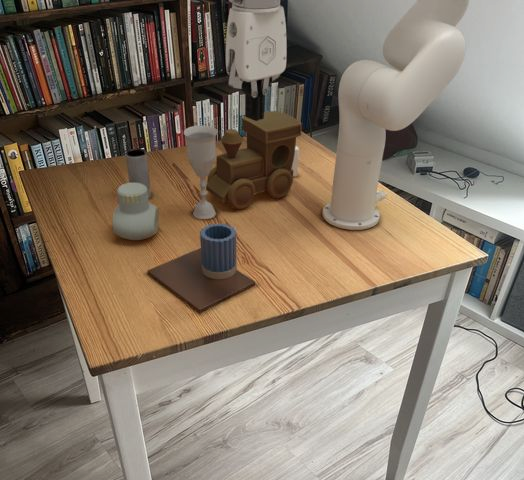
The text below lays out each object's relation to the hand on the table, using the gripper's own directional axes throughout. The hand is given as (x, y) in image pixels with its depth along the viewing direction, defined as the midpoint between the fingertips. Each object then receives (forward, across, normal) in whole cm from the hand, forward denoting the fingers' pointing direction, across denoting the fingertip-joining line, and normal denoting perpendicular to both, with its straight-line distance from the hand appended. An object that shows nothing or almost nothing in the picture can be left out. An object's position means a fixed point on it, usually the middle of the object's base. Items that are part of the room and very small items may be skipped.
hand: (254, 117), depth 100 cm
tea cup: (+20, -9, -4) cm, 23 cm away
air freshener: (+25, -16, +18) cm, 35 cm away
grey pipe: (+25, -6, +32) cm, 41 cm away
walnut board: (+25, -16, -4) cm, 30 cm away
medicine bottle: (+25, +28, +21) cm, 43 cm away
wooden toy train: (+25, +14, +16) cm, 33 cm away
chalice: (+25, 0, +16) cm, 30 cm away
